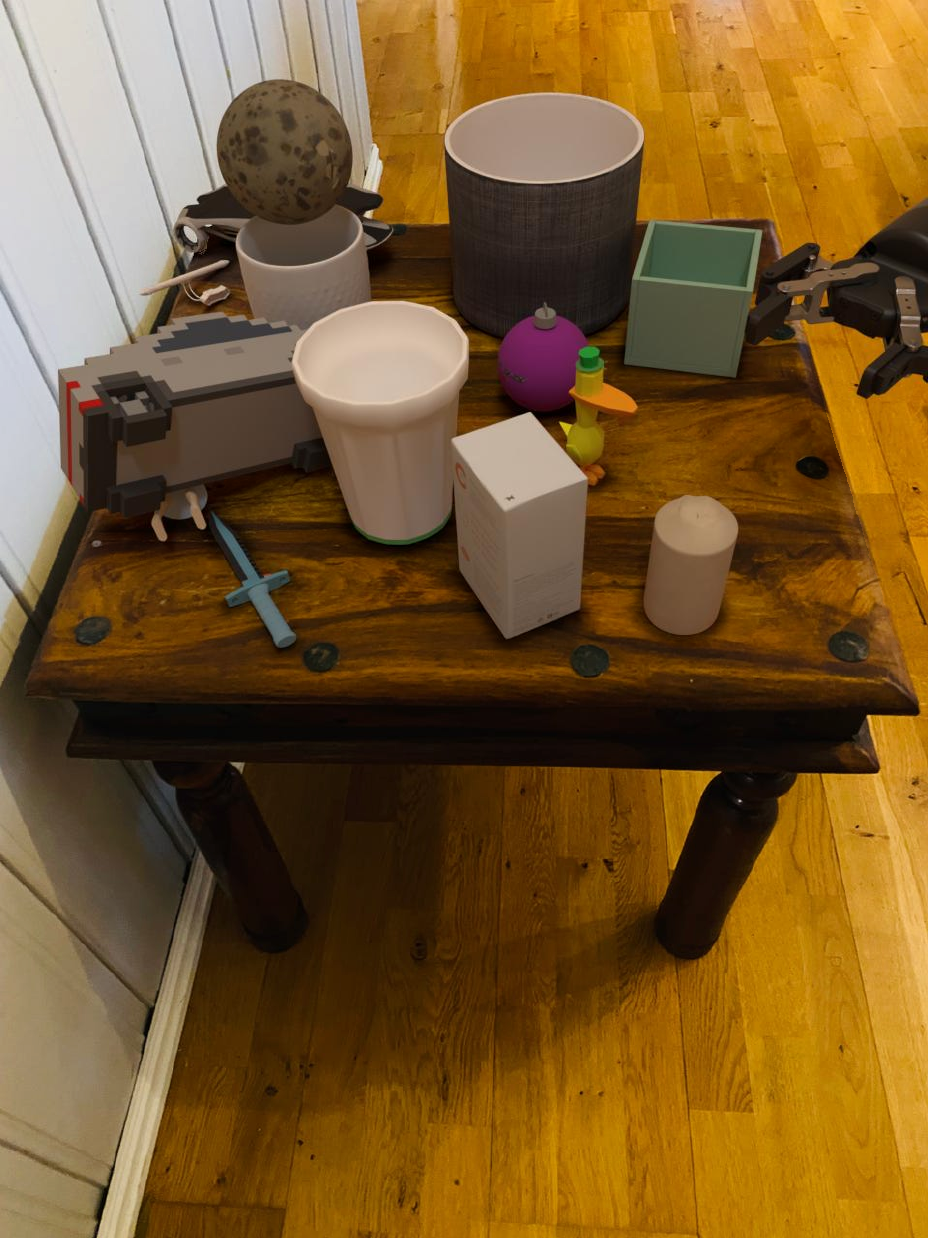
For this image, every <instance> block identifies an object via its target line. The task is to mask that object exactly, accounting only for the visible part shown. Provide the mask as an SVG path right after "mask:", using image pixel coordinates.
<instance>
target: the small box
mask: <svg viewBox="0 0 928 1238" xmlns="http://www.w3.org/2000/svg"><path fill="white" fill-rule="evenodd" d="M451 448H452V465H453V492H454V507H455V508H454V509H455V521H456V522H455V523H456V535H457V552H458V553H457V554H458V568H459V569H458V570H459V572H460V574H461V575H462V577H463V578H464V580H465V581H466V583H467V584H468V585H469V587H470V589H471V590H472V591H473V593H474V594H475V596H476V597H477V599H478V600H479V603H481V605H482V606H483V608H484V610H485V611H486V612H487V614H488V615H489V617H490V618H491V620H492V621H493V622H494V624H495V626H496V627H497V628H498V630H499V632H501V634H502V636H503V638H505V640H509V639H512V638H514V637H517V636H519V635H521V634H524V633H527V632H529V631H531V630H533V629H536V628H539V627H541V626H543V625H546V624H548V623H550V622H553V621H555V620H558V619H560V618H563V617H565V616H566V615H569V614H572V613H575V612H577V611H579V610H580V609H581V601H582V587H583V586H582V585H583V566H584V551H585V539H586V537H585V536H586V535H585V534H586V519H587V505H588V504H587V503H588V502H587V501H588V490H589V489H588V488H589V485H588V477H587V476H586V475H585V474H584V473H583V472H582V471H581V469H580V466H579V465H578V464H577V463H576V462H575V461H574V459H572V458H571V457H569V455H568V454H567V452H566V451H565V450H564V449H563V447H562V446H561V445H560V444H559V442H558V441H557V440H556V439H555V438H554V437H553V436H552V435H551V433H550V432H549V431H548V430H547V429H546V428H545V427H544V425H543V424H542V422H540V421H539V420H538V419H537V418H536V416H535V415H534V414H533V413H532V412H531V411H529V412H526V413H523V414H520V415H516V416H514V417H512V418H511V417H510V418H508V419H505V420H502V421H499V422H496V423H493V424H491V425H488V426H485V427H481V428H478V429H475V430H472V431H469V432H467V433H463V434H460V435H457V436H456V437H455V438H452V439H451Z"/></svg>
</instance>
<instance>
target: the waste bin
mask: <svg viewBox="0 0 928 1238" xmlns="http://www.w3.org/2000/svg"><path fill="white" fill-rule="evenodd" d="M762 237H763V230H762V229H755V228H746V227H745V228H743V227H734V226H723V225H713V224H701V223H690V222H680V221H670V220H669V221H668V220H657V219H649V220H648V224H647V228H646V231H645V234H644V238H643V240H642V244H641V248H640V251H639V254H638V257H637V261H636V264H635V267H634V271H633V274H632V278H631V283H630V295H629V306H628V315H627V316H628V317H627V326H626V327H627V328H626V337H625V338H626V339H625V349H624V359H623V364H624V365H626V366H627V365H628V366H636V367H643V368H653V369H661V370H667V371H668V370H669V371H675V372H676V371H678V372H684V373H693V374H700V375H701V374H703V375H710V376H717V377H718V376H719V377H726V378H733V379H734V378H735V379H736V378H737V374H738V369H739V364H740V359H741V355H742V349H743V344H744V340H745V335H746V333H744V331H745V326H746V321H747V316H748V313H749V311H750V310H751V309H750V308H751V304H752V299H753V294H754V288H755V282H756V277H757V270H758V269H757V268H758V263H759V256H760V249H761V244H762V243H761V242H762Z"/></svg>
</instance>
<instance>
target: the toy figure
mask: <svg viewBox="0 0 928 1238" xmlns="http://www.w3.org/2000/svg"><path fill="white" fill-rule="evenodd" d="M600 352H601V350H600V348H597V347H596V346H589V347H585V348H583V349H580V351H579V358H580V359H579V360H578V361H577V362H576V368H577V369H576V384H575V386H574V387H573V388H572V389H571V390H570V391H569V394H570V395H571V396H572V397H573V398H575V400H574V401H575V402H574V403H575V412H576V421H575V422H574V423H573V424H570V423H566V422H563V421H558V423H559V425H560V427H561V429H562V431H563V433H564V435H565V436H566V444H565V449H566V451H565V452H566V453H567V454H568V455H569V457H570V458H571V459H572V460H573V461H574V462H575V464H577V465H578V466H579V468H580V469H581V471H582V472H583V473H584V474H585V475H586V476H587V477H588V486H593V487H594V486H595V485H597V483H598V482H599V479H601V480H602V479H603V478H604V476H605V475H606V471H604V469H603V468H602V467H601V465H599V464H595V462H596V461H598V460H599V459H600V458H601V457H602V455H603V452H604V451H603V450H604V445H605V434H606V431H605V430H604V429H603V428H602V427H601V426H600V425H599V424H598V422H597V419H598V414H599V412H601V413H604V414H607V415H610V416H612V417H614V418H618V419H622V420H624V419H627V418H629V417H632V416H634V415H636V414H637V410H638V408H639V406H638V405H637V403H636V401H634V399H633V397H631V396H629V394H627V393H626V392H624V391H622V390H620V389H619V388H616V387H614V386H613V385H611V384H608V383H605V382H604V372H605V371H604V370H605V361H604V359H603V358H601V357H600Z"/></svg>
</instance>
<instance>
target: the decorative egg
mask: <svg viewBox="0 0 928 1238" xmlns="http://www.w3.org/2000/svg"><path fill="white" fill-rule="evenodd" d="M216 135H217V136H216V158H217V162H218V167H219V170H220V174H221V176H222V179H223V181H224V184H226V185H227V187H228V188H229V190H230V191H231V193H232V194H233V195H234V197H235V198H236V199H237V200H238V201H239V202H240V203H241V204H242V205H243V206H244V207H245V208H246V209H247V210H249V211H250V212H251V213H253V214H255V215H256V216H258V217H260V218H262V219H264V220H267V221H270V222H273V223H277V224H284V225H296V224H303V223H307V222H310V221H313V220H315V219H317V218H319V217H321V216H323V215H324V214H326V213H327V212H328V211H329V210H331V209H332V208H333V207H334V206H335V205H336V204H337V202H338V201H339V200H340V198H341V197H342V195H343V194H344V192H345V190H346V188H347V186H348V183H349V182H350V180H351V176H352V172H353V171H352V170H353V161H354V158H353V157H354V153H353V144H352V140H351V136H350V132H349V130H348V127H347V125H346V122H345V120H344V119H343V117H342V116H341V114H340V112H339V110H338V109H337V108H336V107H335V106H334V104H333V103H332V102H331V101H330V100H329V99H328V98H327V97H326V96H325V95H324V94H322V93H321V92H319V91H318V90H316V89H315V88H313V87H312V86H309V85H307V84H305V83H302V82H299V81H295V80H291V79H283V78H279V79H275V78H273V79H267V80H264V81H260V82H257V83H255V84H253V85H251V86H249V87H247V88H245V89H244V90H242V91H241V92H240V93H239V94H238V95H237V96H235V98H234V99H233V100H232V101H231V102H230V104H229V105H228V107H227V108H226V109H225V111H224V113H223V115H222V117H221V120H220V123H219V126H218V130H217V134H216Z"/></svg>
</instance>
